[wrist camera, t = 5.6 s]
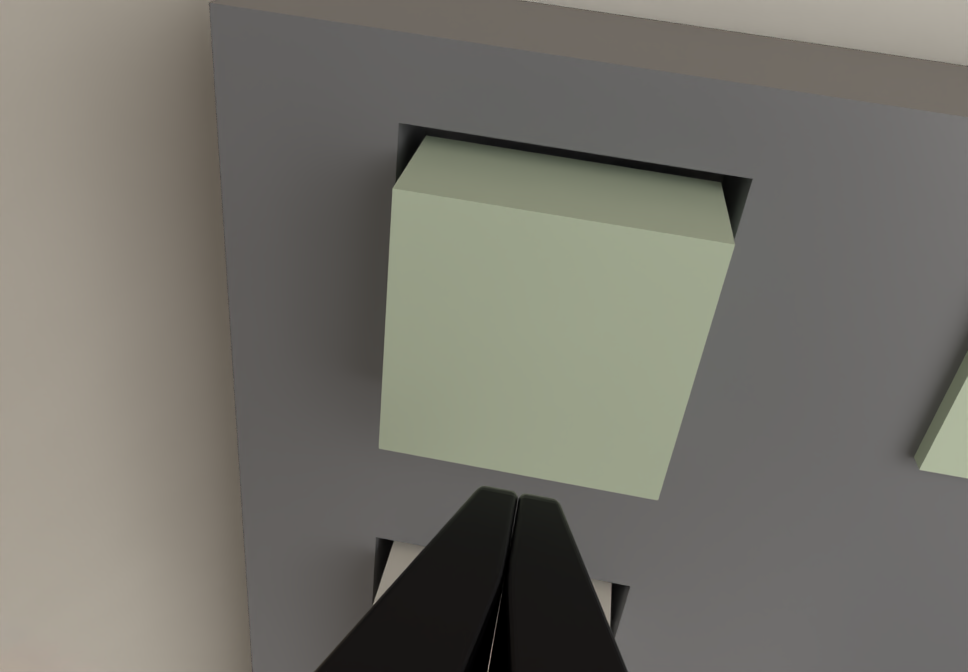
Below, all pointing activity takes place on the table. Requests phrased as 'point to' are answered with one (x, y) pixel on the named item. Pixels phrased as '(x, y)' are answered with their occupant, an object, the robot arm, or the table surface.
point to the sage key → (547, 312)
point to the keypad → (727, 352)
